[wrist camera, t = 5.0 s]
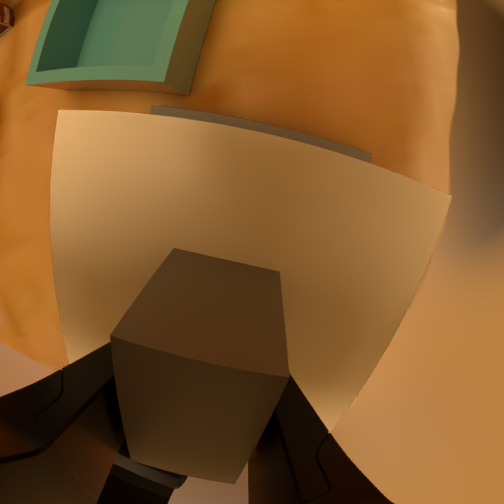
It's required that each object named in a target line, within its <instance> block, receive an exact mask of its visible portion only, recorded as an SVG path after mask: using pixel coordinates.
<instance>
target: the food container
mask: <svg viewBox="0 0 504 504" xmlns="http://www.w3.org/2000/svg"><path fill="white" fill-rule="evenodd" d="M13 24H14V15H13V11H12V10H11V9H10V8H9V7H7V6H5V5H3V4H1V3H0V37H1V36H2V35H3V34H5V33H6V32H7V31H8V30H10V29H11V28H12V27H13Z"/></svg>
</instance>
